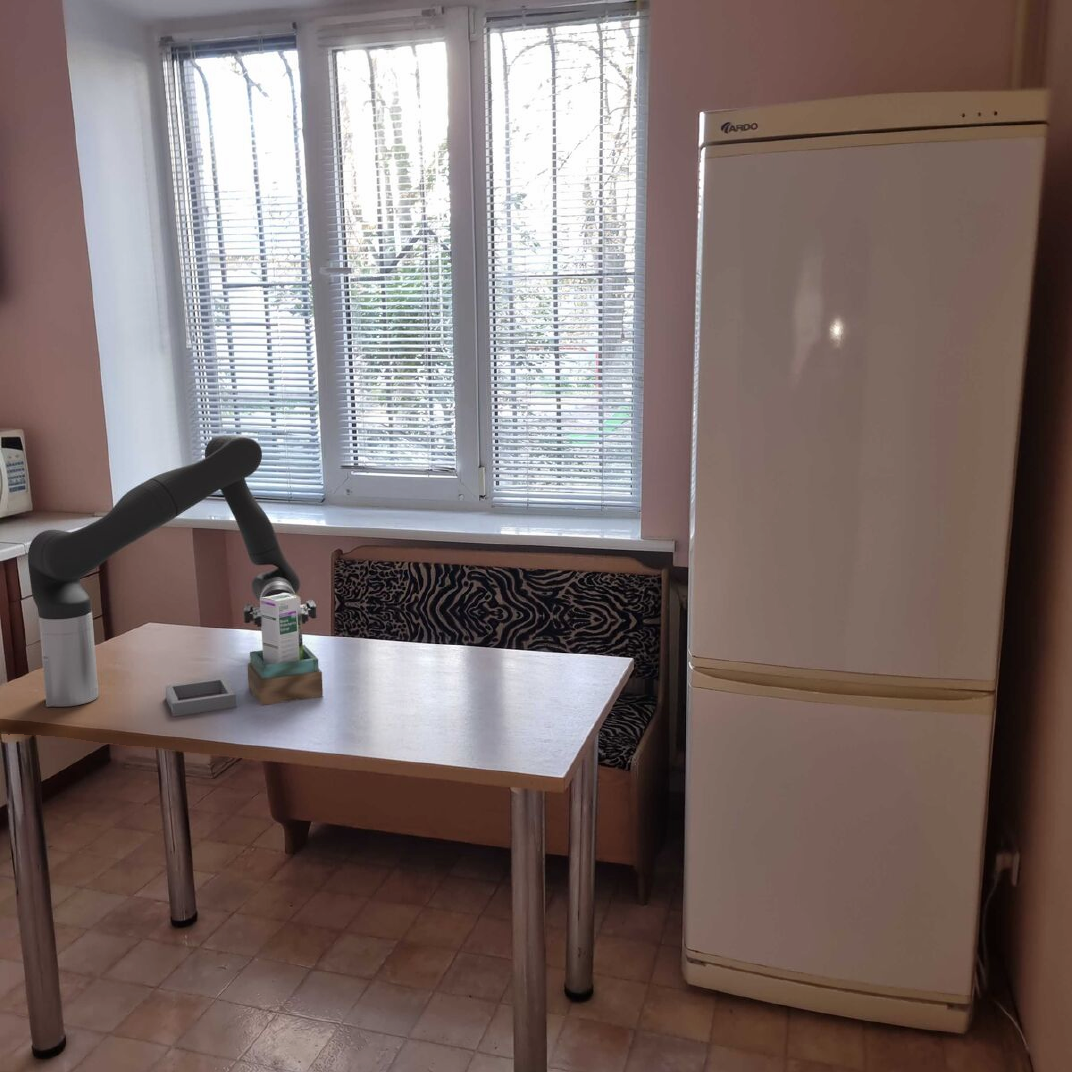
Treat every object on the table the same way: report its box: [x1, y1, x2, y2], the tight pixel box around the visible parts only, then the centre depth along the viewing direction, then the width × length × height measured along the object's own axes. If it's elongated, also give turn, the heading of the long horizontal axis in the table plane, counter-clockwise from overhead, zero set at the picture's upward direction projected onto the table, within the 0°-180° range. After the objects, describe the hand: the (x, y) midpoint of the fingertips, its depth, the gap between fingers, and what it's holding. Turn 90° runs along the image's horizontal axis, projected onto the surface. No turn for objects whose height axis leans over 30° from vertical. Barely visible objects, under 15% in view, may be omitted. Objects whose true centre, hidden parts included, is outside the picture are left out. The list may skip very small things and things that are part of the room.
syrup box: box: [259, 593, 304, 665], centre depth 191 cm, size 6×6×14 cm
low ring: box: [164, 677, 238, 717], centre depth 186 cm, size 11×11×2 cm
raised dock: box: [247, 644, 324, 706], centre depth 192 cm, size 12×12×8 cm
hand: (281, 620), depth 191 cm, fingers open, 8 cm apart
